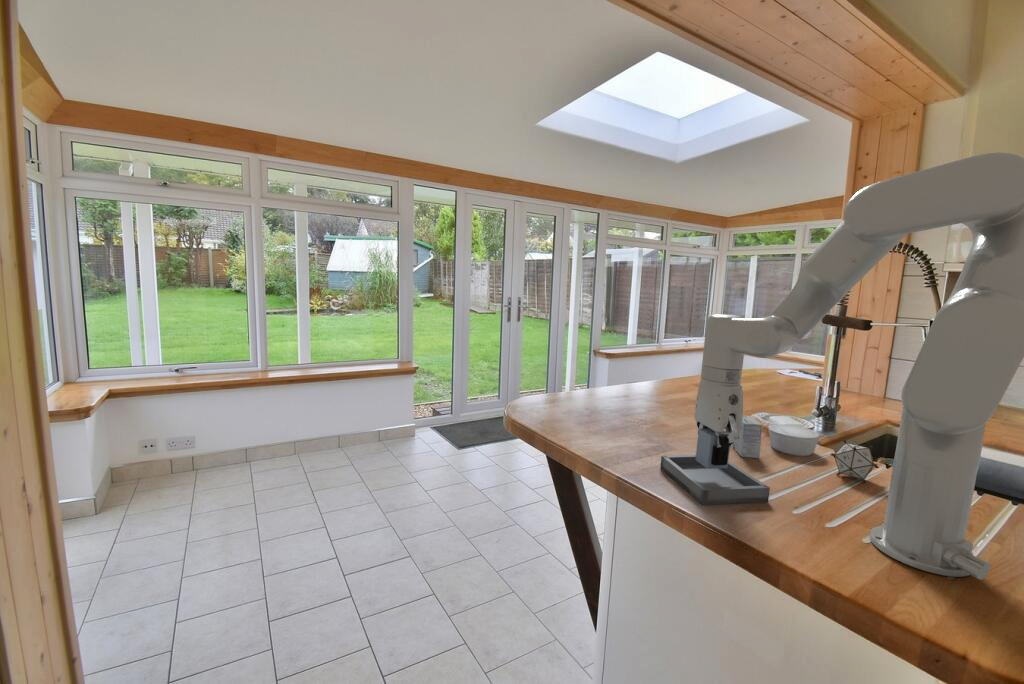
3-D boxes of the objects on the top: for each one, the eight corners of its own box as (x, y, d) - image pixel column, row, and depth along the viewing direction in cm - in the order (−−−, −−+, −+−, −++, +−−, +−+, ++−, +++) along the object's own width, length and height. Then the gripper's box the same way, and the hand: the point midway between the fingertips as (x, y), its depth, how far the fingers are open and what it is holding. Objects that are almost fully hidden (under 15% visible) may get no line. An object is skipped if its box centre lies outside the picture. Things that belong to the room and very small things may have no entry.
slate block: (727, 468, 94) (731, 435, 93) (707, 468, 93) (711, 436, 92) (714, 459, 98) (718, 428, 97) (695, 459, 98) (698, 428, 97)
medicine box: (759, 459, 111) (763, 425, 110) (740, 457, 112) (743, 423, 111) (749, 447, 119) (753, 415, 118) (731, 446, 120) (734, 414, 118)
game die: (852, 497, 101) (853, 470, 95) (821, 469, 108) (820, 443, 102) (889, 478, 101) (891, 451, 95) (855, 452, 108) (855, 425, 102)
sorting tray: (768, 502, 89) (769, 487, 88) (702, 505, 87) (703, 490, 86) (716, 466, 106) (718, 454, 105) (660, 468, 103) (661, 455, 103)
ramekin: (756, 444, 122) (759, 425, 121) (786, 440, 126) (789, 422, 125) (795, 460, 111) (798, 439, 111) (827, 455, 115) (829, 435, 115)
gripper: (766, 384, 85) (754, 476, 88) (713, 366, 102) (705, 444, 104) (729, 384, 84) (719, 477, 87) (682, 366, 101) (674, 445, 103)
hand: (711, 458), depth 96 cm, fingers closed on slate block, 4 cm apart
